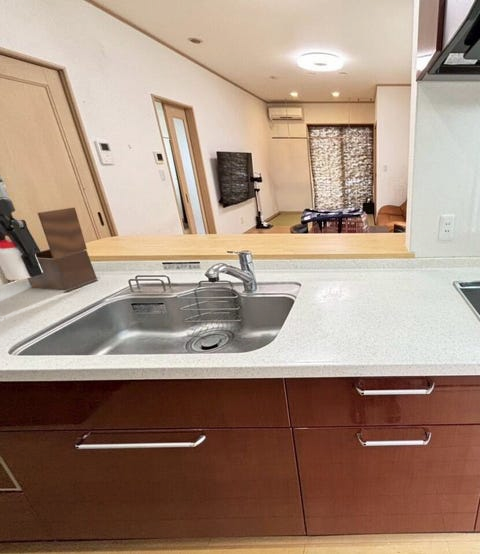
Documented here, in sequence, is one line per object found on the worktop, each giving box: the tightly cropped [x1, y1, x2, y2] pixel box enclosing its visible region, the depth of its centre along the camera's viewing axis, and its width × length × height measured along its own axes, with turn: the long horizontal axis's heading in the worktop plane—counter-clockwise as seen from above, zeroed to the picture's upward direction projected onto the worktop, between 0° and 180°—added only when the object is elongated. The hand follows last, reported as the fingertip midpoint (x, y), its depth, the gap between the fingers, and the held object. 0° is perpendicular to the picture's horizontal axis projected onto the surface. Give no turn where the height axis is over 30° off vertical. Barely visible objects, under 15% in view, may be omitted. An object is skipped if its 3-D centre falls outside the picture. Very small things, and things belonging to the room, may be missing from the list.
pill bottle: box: [0, 238, 43, 281], centre depth 89 cm, size 8×8×11 cm
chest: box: [26, 248, 99, 293], centre depth 115 cm, size 16×12×13 cm
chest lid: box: [37, 207, 88, 258], centre depth 109 cm, size 16×12×1 cm
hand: (24, 274), depth 91 cm, fingers closed on pill bottle, 8 cm apart
